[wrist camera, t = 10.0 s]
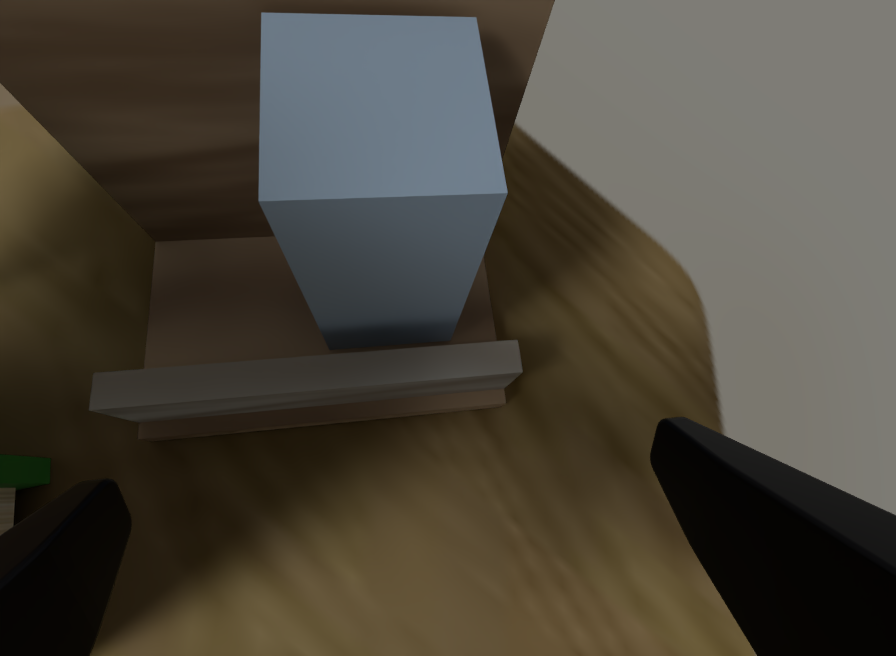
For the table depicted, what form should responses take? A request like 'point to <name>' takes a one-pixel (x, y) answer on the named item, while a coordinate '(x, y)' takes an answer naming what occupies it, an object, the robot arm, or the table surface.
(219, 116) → the wooden display stand
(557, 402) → the table surface
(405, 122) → the blue-grey rectangular block
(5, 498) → the hardback book
